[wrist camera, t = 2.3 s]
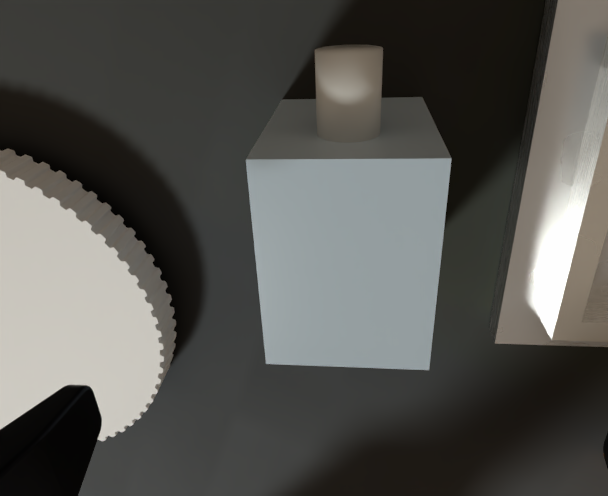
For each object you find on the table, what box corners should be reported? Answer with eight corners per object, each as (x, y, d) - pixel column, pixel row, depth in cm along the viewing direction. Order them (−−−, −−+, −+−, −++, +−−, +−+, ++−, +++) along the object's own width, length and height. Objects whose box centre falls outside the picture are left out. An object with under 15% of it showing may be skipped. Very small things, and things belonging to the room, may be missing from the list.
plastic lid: (-135, 340, 24) (-185, 377, 22) (-141, 65, 18) (-213, 79, 15) (138, 442, 26) (117, 486, 24) (228, 227, 19) (211, 260, 17)
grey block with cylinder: (291, 257, 19) (266, 363, 14) (278, 33, 15) (236, 65, 10) (410, 259, 19) (429, 370, 14) (426, 28, 15) (462, 60, 10)
